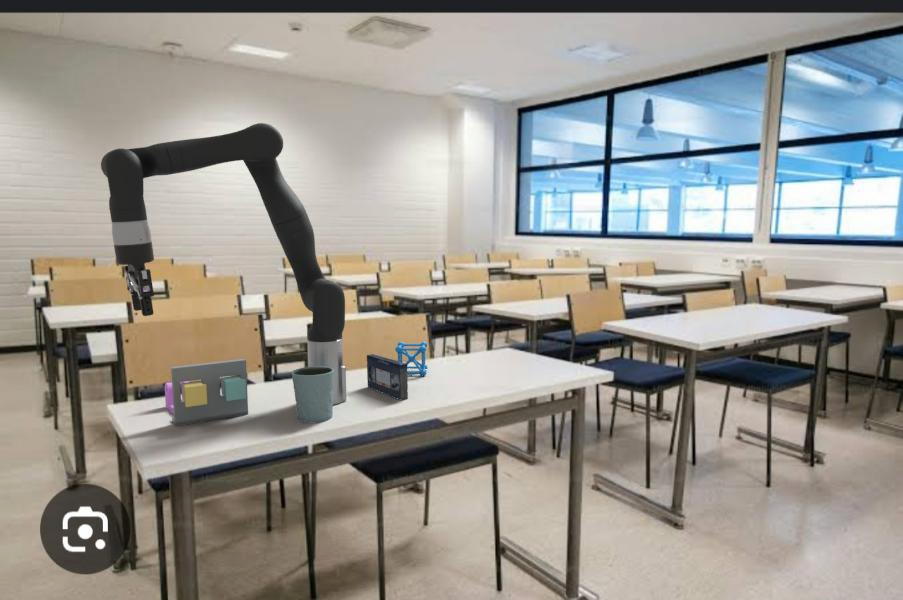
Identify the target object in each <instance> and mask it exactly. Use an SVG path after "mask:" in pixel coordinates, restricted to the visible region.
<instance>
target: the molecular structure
mask: <svg viewBox="0 0 903 600" xmlns="http://www.w3.org/2000/svg"><path fill="white" fill-rule="evenodd" d="M405 347H406V348H405ZM407 347H409V348H407ZM412 347H413V348H412ZM416 347H417V348H416ZM427 348H428V343H427V342H426V341H421V342H420V343H405V342H404V341H399V342H398V343H397V346H396V347H395V348H394V349H395V352H396V353H397V361H399V362H402V363H403V355H404V356H405V357H407V358H408V359H407V361H405V362H404V363H405V364H407V370H409V368H410V369H411V370H412V369H413V370H414V369H418V370H419V371H407V375H419V376H420V375H425V376H426V375H427V370H428V368H429V367H428V365H427V364H426V352H427ZM409 351H410V352H411V351H412V352H413V351H415V353H414V354H410V352H409ZM420 354H421V363H420V362H419V360H416V357H417V356H418V355H420ZM410 363H413V364H414V365H415V366H414V365H413V366H408V365H409V364H410ZM425 369H427V370H425Z"/></svg>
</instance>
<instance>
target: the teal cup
mask: <svg viewBox="0 0 903 600" xmlns="http://www.w3.org/2000/svg"><path fill="white" fill-rule="evenodd" d="M291 376H292V377H291V379H292V383H293V384H292V385H293V389H294V390H293V391H294V392H293V393H294V398H295V402H296V403H295V405H296V406H295V407H296V413H297V414H296V415H297V420H298V421H299V420H300V421H299V422H302V421H303V422H302V423H308V422H314V423H322V422H326V421H329V420H331V419H332V418H333V414H334V413H333V412H334V411H333V410H334V408H333V407H334V406H333V404H332V403H333V402H332V401H333V392H332V391H333V379H334V369H333V368H331V367H325V366H313V367H308V366H306V367H300V368H295V369H294V370H292V371H291ZM328 419H329V420H328ZM321 421H322V422H321Z"/></svg>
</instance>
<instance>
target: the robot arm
mask: <svg viewBox="0 0 903 600" xmlns="http://www.w3.org/2000/svg"><path fill="white" fill-rule="evenodd" d="M283 149H284V139H283V136H282V134H281V132H280V131H279V130H278V129H277V128H276V127H275V126H273V125H272V124H269V123H263V122H262V123H261V122H259V123H254V124H251V125H250V126H247V127H245V128H244V129H240V130H237V131H234V132H230V133H225V134H220V135H219V134H218V135H213V136H207V137H199V138H190V139H189V138H188V139H181V140H173V141H166V142H165V141H164V142H159V143H155V144H152V145H148V146H144V147H143V146H142V147H136V148H135V147H134V148H116V149H112V150H110V151H109V152H106V154H104V156H102V158H101V161H100V169H101V171H102V173H103V175H104V176H105V177H106V178H107V182H108V188H109V195H110V196H109V198H108V199H109V200H108V207H109V208H108V209H109V214H110V220H111V235H112V236H111V237H112V242H113V249H114V254H115V261H116V264H118V265H120V266H121V265H122V266H123V268H124V271H125V272H124V274H125V280H126V289H127V291H128V293H129V295H130V296H131V302H132V309H133V310H134V311H136V312H137V311H141V314H142V316H144V317H148V316H153V315H154V308H153V302H152V301H153V300H152V298H153V297H154V296H155V292H154V286H153V281H152V274H151V273H152V271H151V270H150V269H146V265H145V264H147V263H152V262H153V261H154V260H155V255H154V247H153V241H152V240H153V239H152V235H151V234H152V233H151V229H150V226H149V221H148V215H147V209H146V203H145V199H144V179H147V178H150V177H156V176H168V175H169V176H170V175H174V174H181V173H187V172H191V171H195V170H201V169H204V168H208V167H212V166H216V165H219V164H225V163H230V162H237V161H238V162H239V161H243V162H244V164H245V166H246V168H247V169H248V171H249V174H250V175H251V177H252V179H253V181H254V183H255V185H256V187H257V190H258V192H259V195H260V197H261V199H262V202H263V205H264V207H265V210H266V213H267V214H268V215H267V216H269V219H270V222H271V225H272V228H273V230H274V232H275V234H276V237H277V239H278V241H279V243H280V245H281V248H282V250H283V252H284V255H285V256H286V259H287V261H288V263H289V265H290V267H291V270H292V273H293V275H294V278H295V282H296V285H297V288H298V290H299V291H298V292H299V295H300V299H301V300H302V303H303V306H304V307H305V308H306V309H308V311H309V312H312V322H311V323H312V324H311V325H310V328H308V330H307V333H306V335H307V338H306V339H307V340H306V341H307V364H308V365H307V367H313V366H325V367H331V368H333V369H334V379H333V391H332V392H333V401H332V402H333V403H332V404H333V405H337V404H340V403H342V402H346V401H347V373H346V372H347V371H346V370H347V369H346V366H344V363H343V361H344V359H343V357H344V356H343V332H344V328H345V323H346V297H345V292H344V289H343V287H342V286H341V285H340V284H338V283H337V282H335V281H332V280H327V279H326V277H325V275H324V273H323V272H322V269H321V268H320V265H319V262H318V259H317V255H316V242H315V233H314V229H313V226H312V223H311V220H310V218H309V215H308V213H307V209H305V206H304V205H303V202H302V201H301V200H300V199H299V197H298V196H297V194H296V193H295V192H294V190H293V189H292V188H291V186H290V185H289V184H288V182H287V181H286V179H285V178H284V175H283V173H282V171H281V168H280V166H279V163H278V160H277V158H278V157H279V156H280V154H281V153H282V152H283Z"/></svg>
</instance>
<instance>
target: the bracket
mask: <svg viewBox="0 0 903 600" xmlns="http://www.w3.org/2000/svg"><path fill="white" fill-rule="evenodd" d="M187 382H191V381H186V382H180V389H182V383H187ZM164 398H165V401H164V402H165V407H166V408H167V409H168V410H169V411H170V410H171V411H170V412H172V413H173V414H174V411H173V392H172V381H171V382H166V383H164ZM181 400H183V397H182V396H181Z"/></svg>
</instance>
